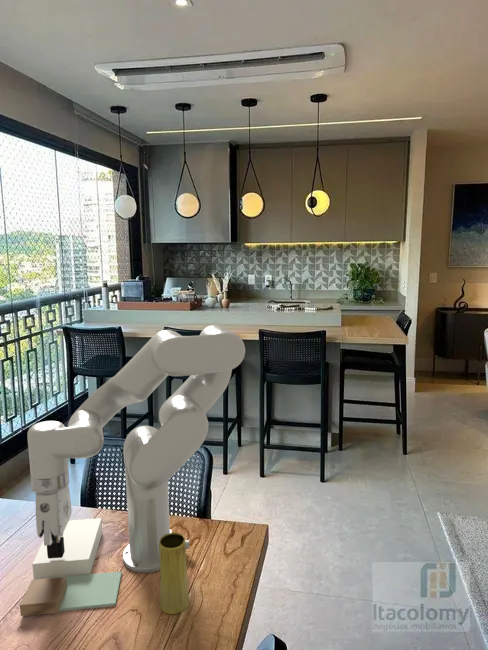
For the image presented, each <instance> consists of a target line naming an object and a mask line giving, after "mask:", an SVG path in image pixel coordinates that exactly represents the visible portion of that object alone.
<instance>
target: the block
mask: <svg viewBox="0 0 488 650" xmlns="http://www.w3.org/2000/svg"><path fill="white" fill-rule="evenodd" d="M66 589H67V582H66V577H62V578H50V579H37V580H34V579H31V581H30V583H29V585H28V587H27V589H26V591H25V593H24V595H23V598H22V599H21V601H20V604H19V613H20V617H26V616H27V617H28V616H36V615H37V616H38V615H50V614H58V613H59V611H58V610H59V608H60V605H61V602H62V600H63V597H64V594H65V591H66Z"/></svg>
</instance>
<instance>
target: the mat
mask: <svg viewBox="0 0 488 650" xmlns="http://www.w3.org/2000/svg"><path fill="white" fill-rule="evenodd" d="M55 578H62V577H55ZM47 579H50V578H47ZM121 579H122V571H121V570H120V571H111V572H100V573H90V574H87V575H76V576H66V582H67V589H66V591H65V594H64V597H63V600H62V602H61V605H60V608H59V610H58V612H65V611H67V612H68V611H76V610H85V609H96V608H105V607H106V608H107V607H115V606H116V605H117V601H118V600H117V599H118V596H119V589H120V583H121Z"/></svg>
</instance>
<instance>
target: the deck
mask: <svg viewBox="0 0 488 650" xmlns="http://www.w3.org/2000/svg"><path fill="white" fill-rule="evenodd" d="M102 522H103V521H102V518H101V517H98V518H97V517H96V518H86V519H85V518H84V519H72V520H71V519H69V521H68V523H67V526H66V528H65V530H64V532H63V536H61V537H64V550H65V552H64V554H63V557H62V558H51V559H49V558H48V555H47V545H46V546H44V540H43V541H42V543H41V545H40V547H39V549H38V551H37V554H36V556H35V558H34V560H33V562H32V565H31V566H32V575H33V580H37V579H47V578H55V577H66V576H76V575H87V574H92V570H93V566H94V562H95V559H96V555H97V552H98V549H99V545H100V542H101V537H102V535H103V523H102Z"/></svg>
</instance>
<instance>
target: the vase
mask: <svg viewBox="0 0 488 650" xmlns="http://www.w3.org/2000/svg"><path fill="white" fill-rule="evenodd" d="M183 535H184V534H182V533H178V532H172V533H169V534H166V535H164V536H163V537H161V539H160V541H159V555H160V570H159V573H160V584H159V585H160V586H159V603H158V604H159V608H160V610H161V611H162V612H163V613H166V614H168V615H177V614H180V613H182V612H184V611H185V610H186V609H187V608H188V607H189V604H190V597H189V584H188V583H189V581H188V580H189V579H188V567H187V550H186V542H185V540H186V537H185V535H184V536H183Z"/></svg>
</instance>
